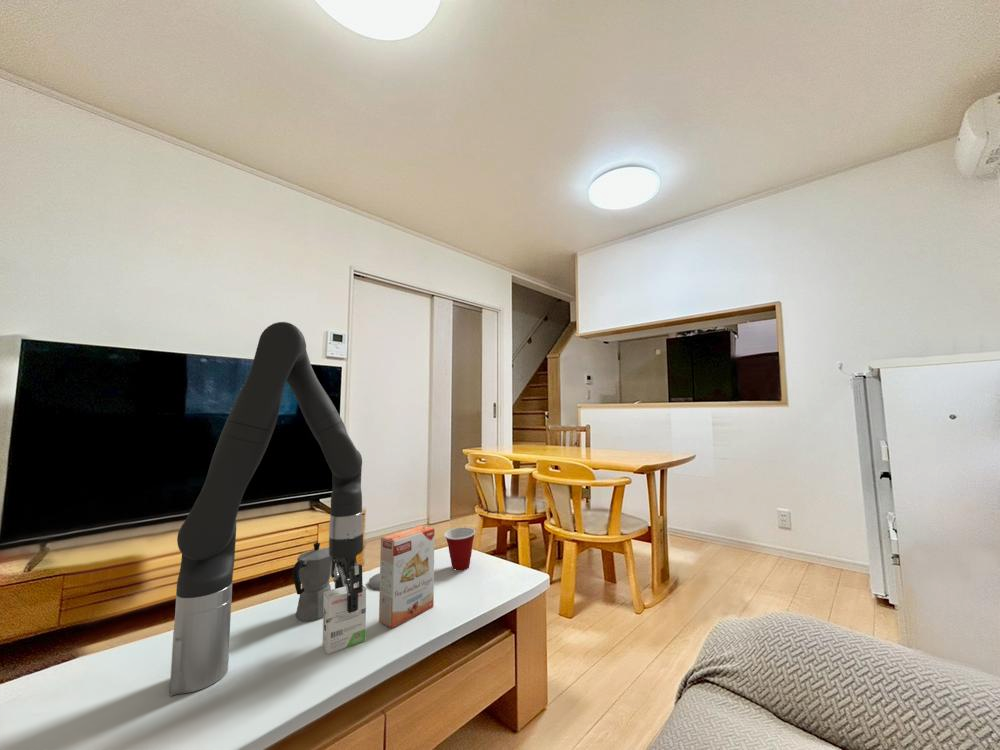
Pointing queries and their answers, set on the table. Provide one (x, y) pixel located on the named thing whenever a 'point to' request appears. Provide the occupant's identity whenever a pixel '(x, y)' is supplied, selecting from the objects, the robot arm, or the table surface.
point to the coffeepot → (312, 582)
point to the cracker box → (406, 575)
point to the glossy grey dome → (375, 581)
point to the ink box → (342, 620)
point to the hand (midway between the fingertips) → (346, 604)
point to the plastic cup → (460, 546)
